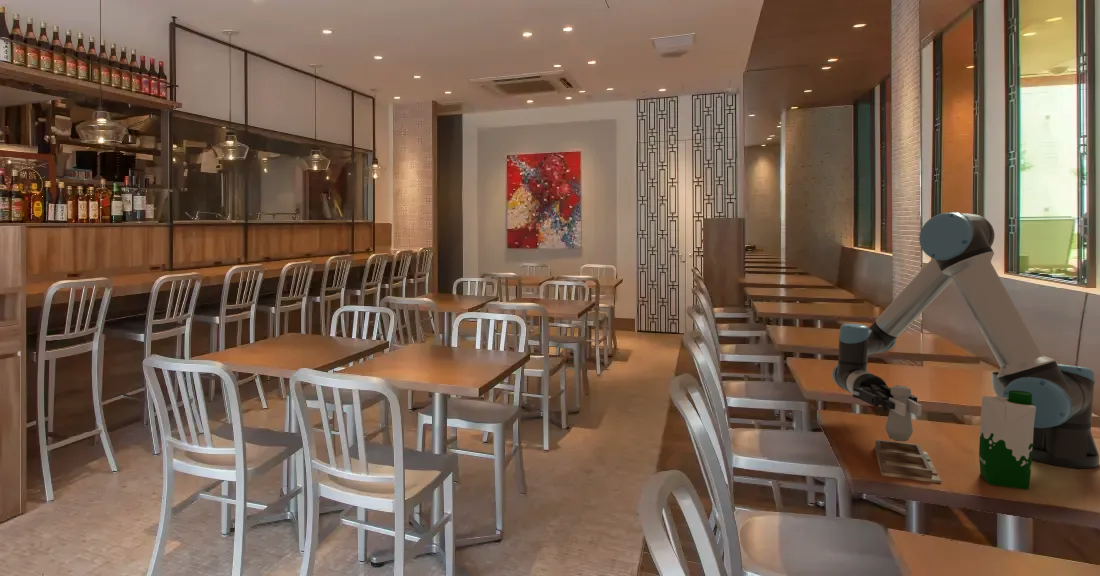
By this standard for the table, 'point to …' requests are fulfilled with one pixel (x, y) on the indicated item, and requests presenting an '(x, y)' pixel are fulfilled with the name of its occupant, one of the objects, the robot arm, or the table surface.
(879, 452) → the socket board
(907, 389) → the salt shaker
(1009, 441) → the milk carton
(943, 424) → the table surface
